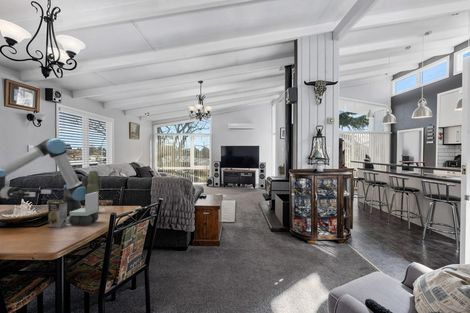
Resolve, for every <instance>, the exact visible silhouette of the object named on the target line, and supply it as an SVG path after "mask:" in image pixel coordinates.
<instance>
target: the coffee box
mask: <svg viewBox="0 0 470 313" xmlns="http://www.w3.org/2000/svg"><path fill="white" fill-rule="evenodd" d="M47 210H48V211H47V213H48V214H47V215H48V216H47V217H48V218H47V219H48V220H47V227H50V228H51V227H52V228H59V229H60V228H62V227H65V226H67V219H68V217H67V216H68V212H67V202H64V201H59V200H58V201H51V202H48V208H47Z"/></svg>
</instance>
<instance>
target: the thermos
mask: <svg viewBox="0 0 470 313" xmlns="http://www.w3.org/2000/svg"><path fill="white" fill-rule="evenodd" d="M98 172H99V171H96V170H92V171H91V170H90V171H89V172H88V175H87V177H85V178H84V187H85V189H86V190H87V193H88V194H89V193H94V192H98V194H99V193H100V190H101V189H102V177H101V176H99V173H98ZM99 210H100V205H99V204H98V212H99ZM98 212H96V213H97V214H99V213H98Z"/></svg>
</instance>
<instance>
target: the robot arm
mask: <svg viewBox="0 0 470 313" xmlns="http://www.w3.org/2000/svg"><path fill="white" fill-rule="evenodd" d="M67 153H68V150H67V145H66V143H65V141H63V140H62V139H61V138H55V137H53V138H47V139H45V140H43V141H42V142H40V143H38V144H37V145H35V146H34V147H33V149H31V150H28V151H26V152H24V153H23V154H21V155H20V156H18V157H16V158H14V159H12V160H10V161H8V162H7V163H5V164H2V165H1V166H0V199H6V200H8V199H18V198H23V199H24V198H27V197H28V198H30V197H31V198H33V197H36V194H43V195H44V194H45V195H46V194H47V195H50V194H52V189H43V188H40V189H22V188H21V187H18V186H6V178H7V176H10V175H11V174H12V173H14V172H16V171H19V170H20V169H22V168H24V167H25V166H27V165H29V164H30V163H32V162H34V161H36V160H38V159H39V158H41V157H42V158H43V157H45V156H47V155H49V157H50V159H53V160H54V161H55V164H56V166H57V168H58V169H59V171H60V173H61V175H62V177H63V179H64V181H65V183H66V184H64V185H63V202H67V213H70V212H69V211H74V210H77V209H80V208H83V207H82V204H81V201H84V200H85V194H88V193H87V190H86V189H85V184H84V183H83V182H82V181H80V180H79V178H78V176H77V174H76V172H75V170H74V168H73V166H72V163H71V162H70V160H69V157H68V156H67Z"/></svg>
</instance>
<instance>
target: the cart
mask: <svg viewBox="0 0 470 313" xmlns="http://www.w3.org/2000/svg"><path fill="white" fill-rule="evenodd" d="M84 200H85V201H84V207H82V208H80V209H77V210H74V211H71V212H69V218H68V219H69V223H70V225H71V226H77V225H79V224H81V225H82V226H88V225H91V223H95V222H96V221H98V219H99V213H96V212H98V205H99V193H98V192H94V193H89V194H85V199H84Z"/></svg>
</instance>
